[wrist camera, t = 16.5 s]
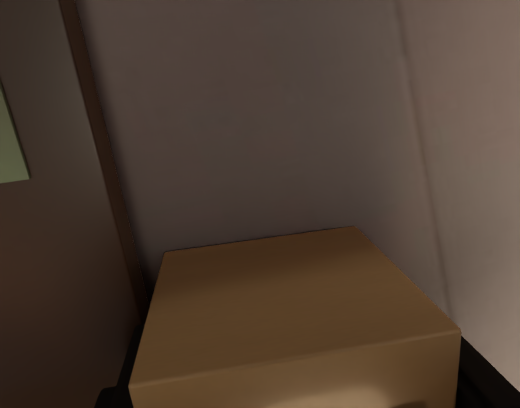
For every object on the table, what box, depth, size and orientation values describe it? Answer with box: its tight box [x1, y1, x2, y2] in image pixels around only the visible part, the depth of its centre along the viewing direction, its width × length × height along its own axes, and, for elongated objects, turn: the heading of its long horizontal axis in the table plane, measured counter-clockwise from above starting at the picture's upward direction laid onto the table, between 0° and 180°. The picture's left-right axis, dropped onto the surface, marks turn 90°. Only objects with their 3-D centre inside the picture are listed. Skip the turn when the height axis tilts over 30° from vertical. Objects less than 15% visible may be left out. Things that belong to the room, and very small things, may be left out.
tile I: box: [128, 226, 462, 408], centre depth 8 cm, size 5×5×5 cm
